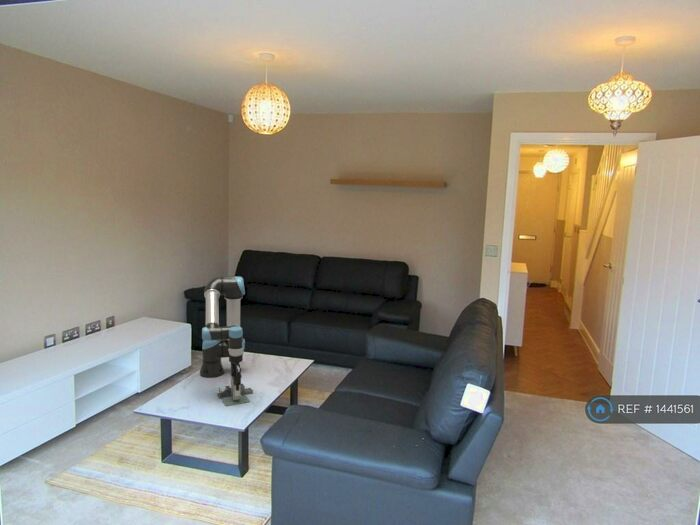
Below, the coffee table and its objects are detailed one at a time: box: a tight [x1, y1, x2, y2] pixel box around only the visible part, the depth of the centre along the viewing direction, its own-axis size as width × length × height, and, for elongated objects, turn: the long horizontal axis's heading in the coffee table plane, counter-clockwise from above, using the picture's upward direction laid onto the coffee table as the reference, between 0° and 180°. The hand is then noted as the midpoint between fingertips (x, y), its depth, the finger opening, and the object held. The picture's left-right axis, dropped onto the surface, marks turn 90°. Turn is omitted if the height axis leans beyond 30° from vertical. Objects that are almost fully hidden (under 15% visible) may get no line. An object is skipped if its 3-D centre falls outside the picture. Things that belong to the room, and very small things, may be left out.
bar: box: [229, 373, 242, 400], centre depth 280 cm, size 5×5×14 cm
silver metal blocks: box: [216, 383, 254, 400], centre depth 289 cm, size 5×20×6 cm, turn 118°
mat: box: [221, 394, 251, 407], centre depth 281 cm, size 9×14×1 cm, turn 118°
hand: (235, 393), depth 280 cm, fingers closed on bar, 5 cm apart
